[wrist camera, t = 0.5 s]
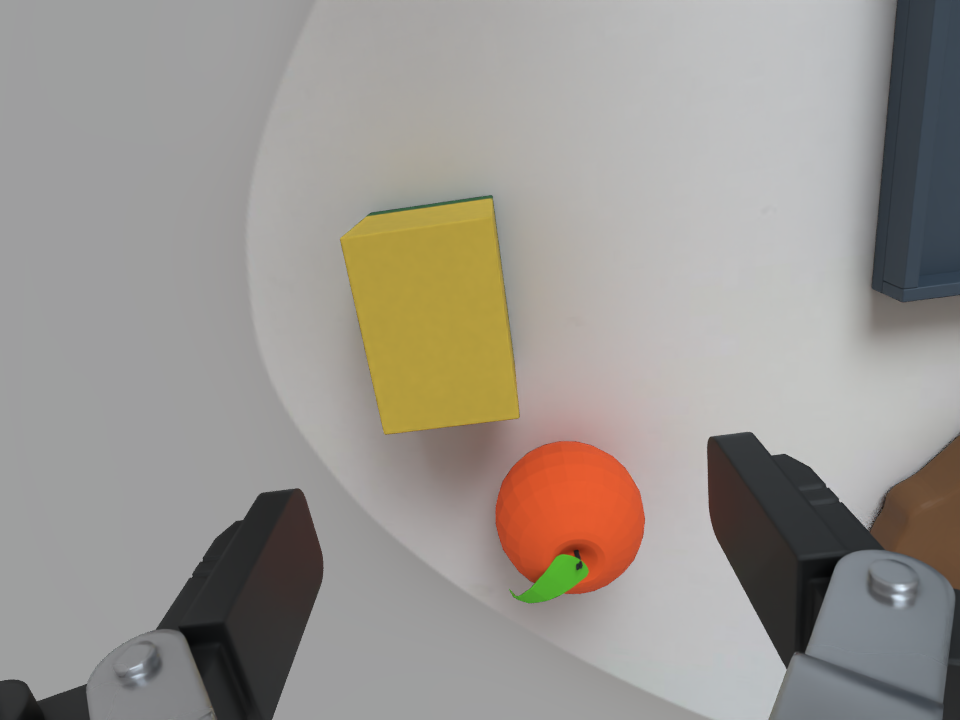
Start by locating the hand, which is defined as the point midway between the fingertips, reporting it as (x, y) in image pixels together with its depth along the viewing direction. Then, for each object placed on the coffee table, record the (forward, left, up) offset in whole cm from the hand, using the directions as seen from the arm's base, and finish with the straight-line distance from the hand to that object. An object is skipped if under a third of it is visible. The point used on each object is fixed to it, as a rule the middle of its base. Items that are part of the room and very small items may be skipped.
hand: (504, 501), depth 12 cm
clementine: (+11, +2, -18) cm, 21 cm away
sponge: (0, -2, -18) cm, 18 cm away
